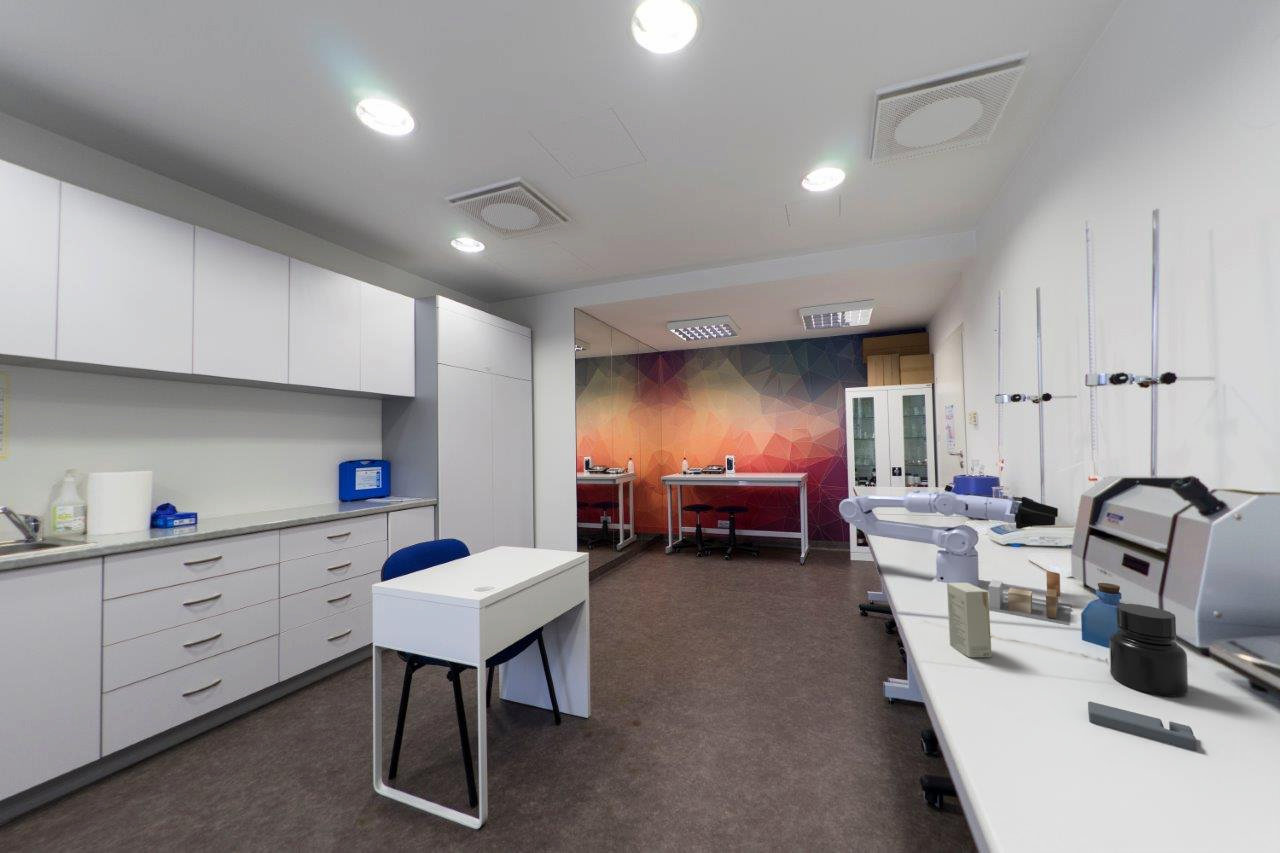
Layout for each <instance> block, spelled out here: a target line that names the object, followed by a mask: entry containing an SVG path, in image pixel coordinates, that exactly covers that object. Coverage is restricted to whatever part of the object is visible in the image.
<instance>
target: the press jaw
mask: <svg viewBox="0 0 1280 853" xmlns="http://www.w3.org/2000/svg"><path fill="white" fill-rule="evenodd" d="M1045 574H1046V575H1045V576H1046V593H1045V600H1046V617H1050V618H1056V616H1057V606H1058V602H1059V598H1060V597H1061V574H1060V573H1058V572H1055V571H1047V572H1046V573H1045Z"/></svg>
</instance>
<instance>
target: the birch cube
mask: <svg viewBox="0 0 1280 853" xmlns="http://www.w3.org/2000/svg"><path fill="white" fill-rule="evenodd" d="M1007 594H1008V608H1009V610H1012V611H1018V612H1023V613H1029V614H1031V612H1032V598H1033V591H1031V590H1025V589H1021V588H1014V587H1009V588H1008V591H1007Z"/></svg>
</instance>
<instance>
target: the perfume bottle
mask: <svg viewBox="0 0 1280 853" xmlns="http://www.w3.org/2000/svg"><path fill="white" fill-rule="evenodd" d="M1097 586H1098V587H1097V588H1098V589H1096V596H1098V598H1097V599H1094V600H1091V601H1090V602H1088V605H1086V606H1085V608H1084V609H1083V611H1082V612H1081V614H1080V618H1081V619H1080V620H1081V625H1080V626H1081V641H1082V642H1083V641H1084V642H1086V643H1090V644H1093V645H1097V646H1101V647H1103V648H1106V649H1109V637H1110V636H1111V635H1112V634H1113V633H1116V632H1117V631H1119V630H1120V629H1119V628H1118V627H1117V625H1118V624H1117V605H1120V604H1126V603H1124V602H1120V600H1122V593H1121V592H1120V589H1121V586H1120V585H1117V584H1114V583H1107V582H1098V583H1097Z"/></svg>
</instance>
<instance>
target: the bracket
mask: <svg viewBox="0 0 1280 853" xmlns="http://www.w3.org/2000/svg"><path fill="white" fill-rule="evenodd" d="M1087 710H1088V711H1087V712H1088V721H1089V723H1091V724H1094V725H1098V726H1101V727H1105V728H1109V729H1112V730H1116V731H1119V732H1124V733H1127V734H1131V735H1135V736H1138V737H1141V738H1145V739H1149V740H1153V741H1156V742H1161V743H1164V744H1167V745H1171V746H1174V747H1177V748H1178V747H1179V748H1182V749H1185V750H1190V751H1193V752H1197V751H1198V746H1197V745H1198V743H1197V738H1196V736H1195V735H1194V732H1193V728H1192V727H1191V726H1189V725H1186V724H1181V723H1178V722H1174V721H1171V720H1170V721H1169V722H1168V725H1169V729H1167V728H1165V725H1164V723H1163V721H1162V719H1160V718H1159V717H1153V716H1150V715H1146V714H1142V713H1137V712H1134V711H1131V710H1130V711H1129V710H1126V709H1122V708H1119V707H1115V706H1114V707H1113V706H1110V705H1105V704H1102V703H1097V702H1094V701H1088V702H1087Z"/></svg>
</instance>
